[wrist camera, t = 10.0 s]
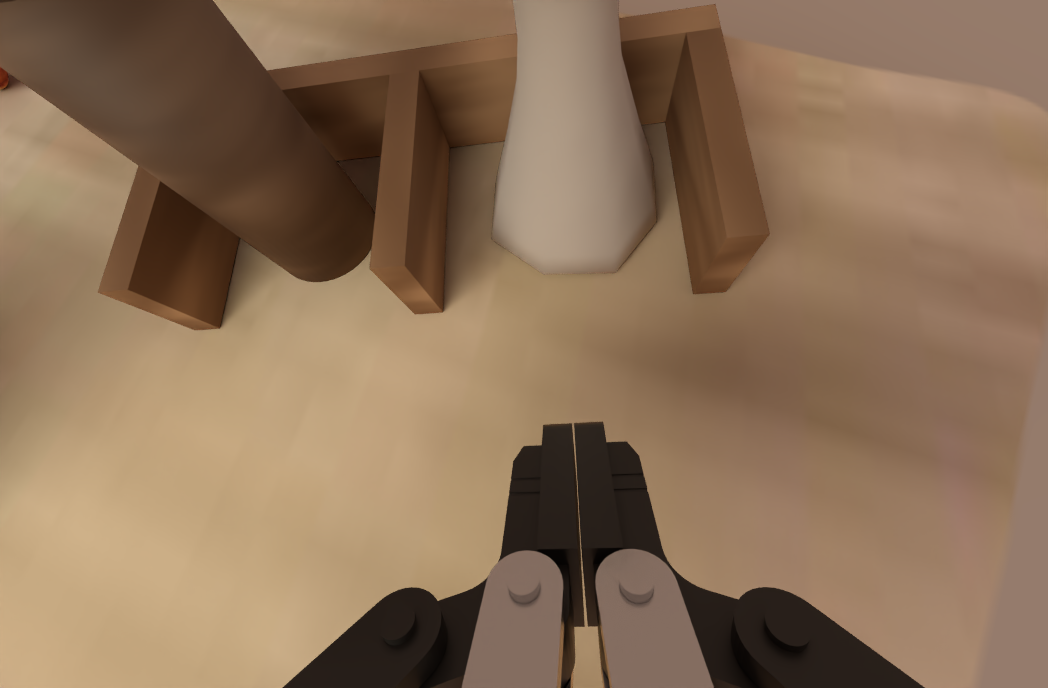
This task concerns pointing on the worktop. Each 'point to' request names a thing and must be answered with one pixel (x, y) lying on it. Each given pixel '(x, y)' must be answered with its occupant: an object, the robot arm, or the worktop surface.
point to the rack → (423, 163)
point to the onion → (3, 78)
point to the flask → (572, 144)
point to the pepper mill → (194, 120)
